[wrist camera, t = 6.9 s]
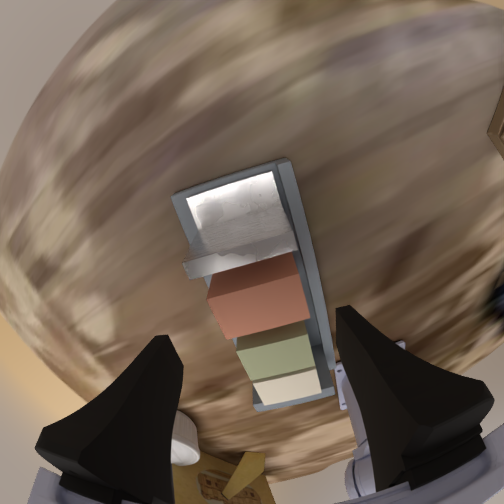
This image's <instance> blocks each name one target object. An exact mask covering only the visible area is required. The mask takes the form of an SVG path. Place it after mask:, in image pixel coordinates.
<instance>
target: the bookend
mask: <svg viewBox="0 0 504 504" xmlns="http://www.w3.org/2000/svg"><path fill="white" fill-rule="evenodd" d="M187 202H188V204H189V207H190V210H191V212H192V215H193V217H194V220H195V222H196V225H197V228H198V231H197V233H196V235H195V237H194V240H193V242H192V244H191V246H190V248H189V250H188V252H187V254H186V256H185V258H184V260H183V262H182V265H183V267H184V269H185V271H186V273H187V276H188V278H189V280H192V279H196V278H199V277H203V276H207V275H210V274H214V273H217V272H221V271H225V270H228V269H232V268H235V267H239V266H243V265H246V264H250V263H253V262H257V261H260V260H264V259H267V258H271V257H274V256H278V255H281V254H285V253H288V252H292V251H295V250H298V249H297V245H296V241H295V237H294V233H293V230H292V228H291V225H290V223H289V221H288V218H287V216H286V214H285V211H284V209H283V207H282V205H281V201H280V198H279V194H278V191H277V187H276V184H275V181H274V177H273V174H272V171H271V170H270V171H266V172H263V173H260V174H256V175H253V176H250V177H246V178H243V179H240V180H237V181H234V182H230V183H227V184H224V185H221V186H218V187H215V188H212V189H209V190H206V191H203V192H200V193H197V194H195V195H192V196H189V197H188V198H187Z"/></svg>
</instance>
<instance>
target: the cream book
mask: <svg viewBox="0 0 504 504" xmlns="http://www.w3.org/2000/svg"><path fill="white" fill-rule="evenodd" d="M253 385H254V387H255V389H256V391H257V393H258V395H259V396H260V398H261V400H262V402H263V404H264V406H265V405H271V404H276V403H281V402H285V401H290V400H294V399H299V398H303V397H307V396H311V395H315V394H319V393H322V391H321V387H320V383H319V379H318V374H317V370H316V366H312V367H308V368H304V369H300V370H297V371H292V372H288V373H284V374H280V375H275V376H271V377H266V378H261V379H256V380H253Z"/></svg>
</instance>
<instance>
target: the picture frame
mask: <svg viewBox="0 0 504 504" xmlns="http://www.w3.org/2000/svg"><path fill="white" fill-rule="evenodd" d="M264 465H265V453H257V452H245V453H244V455H243V457H242V459H241V460H240V462H239V464H238V466H236V465H233V464H230V463H228V462H225V461H223V460H220V459H218V458H216V457H213V456H211V455H209V454H206V453H204V452H202V451H200V459H199V460H198V461H197V462H196V463H194V464H191V465H186V466H177V465H175V464H173V463H171V486H172V497H173V504H276V503H275V501H274V498H273V496H272V493H271V490H270V488H269V485H268V482H267V479H266V477H265V475H261V473H262V472H263V471H264Z"/></svg>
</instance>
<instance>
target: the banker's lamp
mask: <svg viewBox="0 0 504 504" xmlns="http://www.w3.org/2000/svg"><path fill="white" fill-rule="evenodd" d="M487 135H488V136H489V138H490V139H491V141H492V142H493V144H494V145H495V147H496V148H497V150H498V151H499V153H500V154H501V156H502V158H503V159H504V88H503V91H502V94H501V97H500V100H499V103H498V106H497V109H496V111H495V114H494V117H493V119H492V122H491V125H490V127H489V130H488V132H487Z"/></svg>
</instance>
